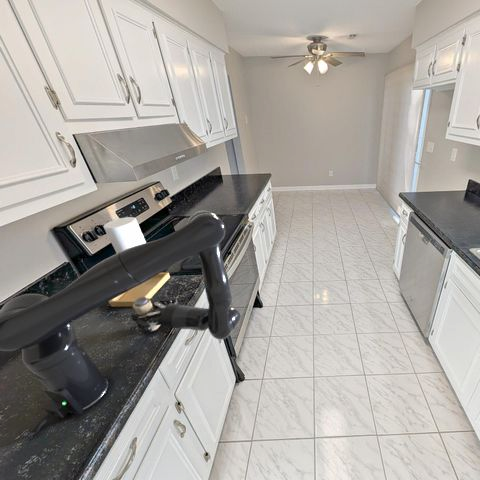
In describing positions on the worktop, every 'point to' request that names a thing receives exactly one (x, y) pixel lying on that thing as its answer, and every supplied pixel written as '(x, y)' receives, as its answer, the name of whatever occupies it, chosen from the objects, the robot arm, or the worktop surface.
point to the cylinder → (124, 233)
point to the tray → (140, 291)
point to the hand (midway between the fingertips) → (139, 310)
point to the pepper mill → (144, 308)
